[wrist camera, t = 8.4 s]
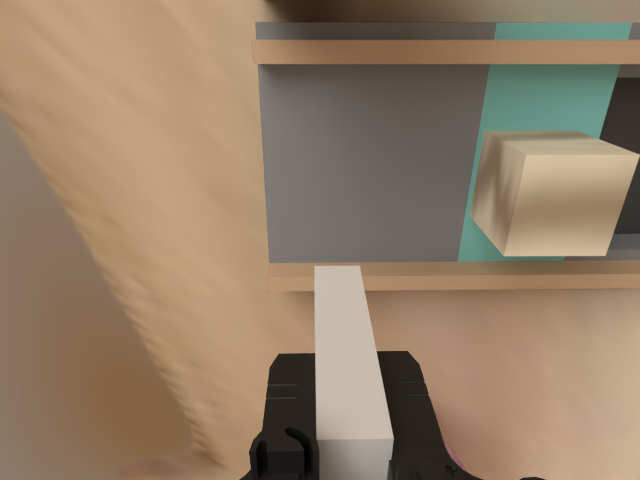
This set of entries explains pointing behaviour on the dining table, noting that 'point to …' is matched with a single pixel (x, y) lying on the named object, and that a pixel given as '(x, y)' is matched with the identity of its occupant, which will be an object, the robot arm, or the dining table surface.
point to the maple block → (550, 191)
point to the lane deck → (430, 145)
